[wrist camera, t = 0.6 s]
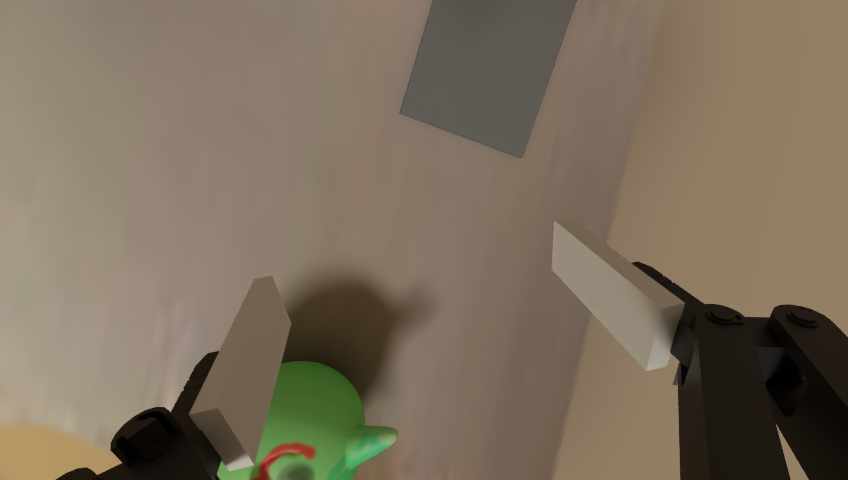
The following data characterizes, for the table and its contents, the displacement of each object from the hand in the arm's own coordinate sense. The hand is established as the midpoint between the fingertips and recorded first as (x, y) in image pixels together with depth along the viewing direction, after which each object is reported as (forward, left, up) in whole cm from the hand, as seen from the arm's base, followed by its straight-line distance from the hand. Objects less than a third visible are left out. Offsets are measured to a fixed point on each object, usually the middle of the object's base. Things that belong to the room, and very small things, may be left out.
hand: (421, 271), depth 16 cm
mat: (-17, +23, -27) cm, 39 cm away
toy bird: (+19, -19, -27) cm, 38 cm away
